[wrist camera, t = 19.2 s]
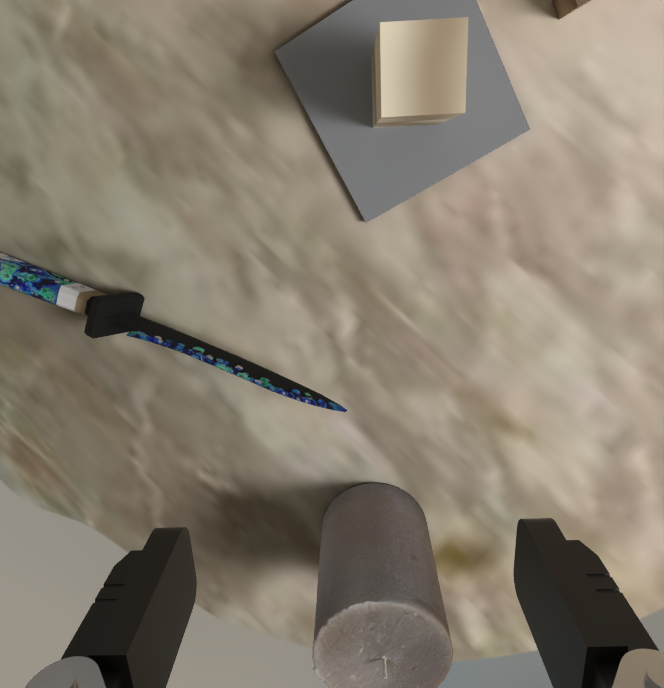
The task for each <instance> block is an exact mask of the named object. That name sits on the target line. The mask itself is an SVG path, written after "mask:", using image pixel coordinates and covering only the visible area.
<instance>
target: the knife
mask: <svg viewBox="0 0 664 688" xmlns="http://www.w3.org/2000/svg"><path fill="white" fill-rule="evenodd" d="M0 285H2V286H5V287H8V288H10V289H13V290H16V291H19V292H21V293H24V294H27V295H30V296H32V297H35V298H38V299H41V300H43V301H46V302H49V303H52V304H54V305H57V306H60V307H63V308H66V309H68V310H71V311H74V312H77V313H79V314H82V315H85V316H88V319H87V323H86V327H85V331H84V332H85V334H86V335H88V336H90V337H91V338H98V337H103V336H109V335H114V334H119V333H124V332H129V331H130V332H129V333H128V334H127V335H126V336H130V337H134V338H138V339H142V340H145V341H149V342H152V343H155V344H159V345H162V346H165V347H168V348H171V349H174V350H176V351H179V352H181V353H184V354H187V355H189V356H191V357H194V358H196V359H199V360H201V361H204V362H206V363H208V364H211V365H213V366H216V367H218V368H220V369H222V370H225V371H227V372H229V373H231V374H234V375H236V376H238V377H241V378H243V379H245V380H247V381H250V382H252V383H254V384H257V385H259V386H261V387H264V388H266V389H268V390H271V391H273V392H276V393H278V394H281V395H284V396H286V397H289V398H292V399H295V400H298V401H301V402H304V403H308V404H311V405H314V406H318V407H323V408H327V409H331V410H336V411H344V412H346V411H347V410H346V409H345V408H343V407H342V406H341V405H339V404H337V403H335V402H334V401H332V400H330V399H328V398H326V397H325V396H323V395H321V394H319V393H317V392H315V391H313V390H311V389H309V388H306V387H304V386H302V385H300V384H298V383H296V382H294V381H292V380H289V379H287V378H285V377H283V376H281V375H279V374H276V373H274V372H272V371H270V370H268V369H265V368H263V367H261V366H259V365H256V364H254V363H252V362H250V361H247V360H245V359H243V358H241V357H238V356H236V355H234V354H231V353H229V352H227V351H224V350H222V349H219V348H217V347H215V346H212V345H210V344H208V343H205V342H203V341H200V340H198V339H196V338H193V337H191V336H188V335H186V334H184V333H181V332H179V331H176V330H174V329H171V328H169V327H166V326H164V325H161V324H158V323H156V322H153V321H151V320H148V319H146V318H143V317H141V316H140V313H141V309H142V306H143V302H144V297H143V296H142V295H141V294H139V293H130V294H118V295H107V294H105V293H102V292H100V291H97V290H95V289H92V288H90V287H87V286H84V285H82V284H79V283H77V282H74V281H72V280H69V279H67V278H64V277H62V276H59V275H56V274H54V273H51V272H49V271H46V270H44V269H41V268H39V267H36V266H34V265H31V264H29V263H26V262H23V261H21V260H18V259H16V258H13V257H11V256H8V255H6V254H3V253H0Z"/></svg>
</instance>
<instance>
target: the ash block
mask: <svg viewBox="0 0 664 688" xmlns="http://www.w3.org/2000/svg"><path fill="white" fill-rule="evenodd" d="M467 46H468V17H461V18H444V19H427V20H410V21H393V22H380V24H379V28H378V32H377V36H376V40H375V44H374V48H373V52H372V101H373V128H380V127H399V126H419V125H438V124H440V123H442V122H445V121H447V120H450V119H452V118H454V117H457V116H459V115H462V114H464V113H465V108H466V77H467Z"/></svg>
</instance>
